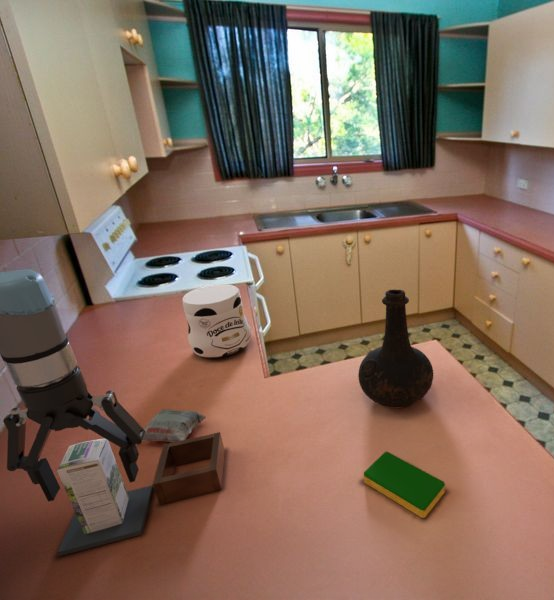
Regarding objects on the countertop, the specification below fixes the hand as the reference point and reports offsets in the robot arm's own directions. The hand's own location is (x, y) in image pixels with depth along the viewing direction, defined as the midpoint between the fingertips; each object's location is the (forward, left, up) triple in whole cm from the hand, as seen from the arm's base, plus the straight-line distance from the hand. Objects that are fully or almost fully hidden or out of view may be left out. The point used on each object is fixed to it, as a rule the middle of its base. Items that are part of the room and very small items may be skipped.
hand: (95, 485), depth 71 cm
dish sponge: (+51, -10, -9) cm, 53 cm away
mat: (0, 0, -8) cm, 8 cm away
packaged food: (+7, +20, -9) cm, 23 cm away
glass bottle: (+58, +17, -9) cm, 61 cm away
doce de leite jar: (+15, +58, -9) cm, 60 cm away
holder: (+13, +6, -8) cm, 17 cm away
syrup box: (0, 0, -8) cm, 8 cm away
